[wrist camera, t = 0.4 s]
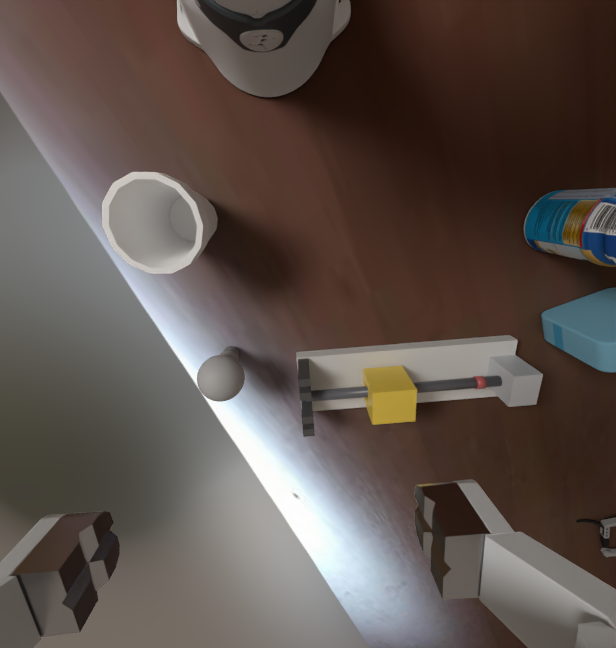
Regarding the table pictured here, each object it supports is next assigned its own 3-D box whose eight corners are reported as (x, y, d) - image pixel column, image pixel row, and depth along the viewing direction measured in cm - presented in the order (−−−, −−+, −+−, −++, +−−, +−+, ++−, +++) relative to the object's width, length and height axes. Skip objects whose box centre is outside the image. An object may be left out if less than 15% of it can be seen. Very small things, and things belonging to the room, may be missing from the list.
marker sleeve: (362, 368, 48) (372, 393, 42) (401, 365, 49) (417, 389, 42) (363, 397, 50) (372, 424, 44) (400, 394, 50) (415, 421, 44)
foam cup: (149, 235, 43) (91, 248, 31) (169, 166, 40) (114, 151, 28) (215, 265, 45) (186, 288, 33) (239, 201, 42) (217, 201, 30)
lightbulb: (260, 353, 50) (250, 393, 40) (231, 375, 51) (215, 419, 41) (233, 326, 48) (216, 359, 38) (204, 348, 49) (180, 387, 39)
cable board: (296, 352, 50) (296, 378, 43) (509, 334, 50) (546, 358, 43) (301, 404, 54) (302, 437, 46) (500, 388, 54) (532, 418, 46)
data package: (539, 337, 51) (607, 376, 40) (535, 313, 49) (606, 346, 38) (616, 310, 50) (709, 342, 38) (615, 284, 48) (712, 310, 37)
